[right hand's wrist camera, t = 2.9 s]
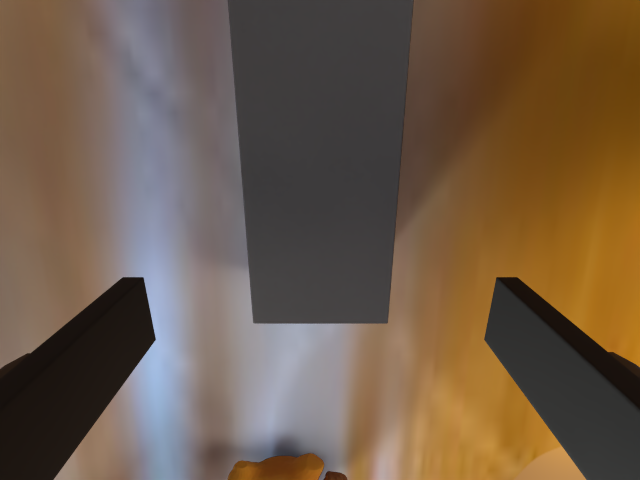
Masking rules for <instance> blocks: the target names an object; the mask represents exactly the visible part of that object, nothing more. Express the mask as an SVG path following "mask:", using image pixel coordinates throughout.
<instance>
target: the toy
mask: <svg viewBox="0 0 640 480" xmlns="http://www.w3.org/2000/svg"><path fill="white" fill-rule="evenodd" d="M323 468H324V463H323V460H321V459H320V458H319V457H318V456H316V455H314V454H312V453H308V454H304V455H301V456H299V457H298V458H297V457H293V456H275V457H271V458H268V459H265V460H263V461H262V462H259V463H257V462H249V461H238V462H237V463H236V464H235V465H234V467H233V470H232V471H231V472H230V474H229V476H228V480H318V479H319V476H320V474H321V472H322V471H323ZM324 480H347V477H346V476H345V475H344V474H342V473H338V472H331V471H328V472H327V473H326V476H325V478H324Z"/></svg>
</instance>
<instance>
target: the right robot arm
mask: <svg viewBox="0 0 640 480" xmlns="http://www.w3.org/2000/svg"><path fill="white" fill-rule="evenodd" d="M155 340H156V339H155V334H154V329H153V324H152V318H151V313H150V308H149V303H148V298H147V293H146V288H145V283H144V278H143V277H123V278H121V279H120V280H119V281H118V282H117V283H115V284H114V285H113V286H112V287H111V288H109V289H108V290H107V291H106V292H104V293H103V294H102V295H101V296H100V297H98V298H97V299H96V300H95V301H94V302H92V303H91V304H90V305H89V306H88V307H86V308H85V309H84V310H83V311H81V312H80V313H79V314H78V315H77V316H75V317H74V318H73V319H72V320H71V321H69V322H68V323H67V324H66V325H65V326H63V327H62V328H61V329H60V330H58V331H57V332H56V333H55V334H54V335H52V336H51V337H50V338H49V339H48V340H46V341H45V342H44V343H43V344H41V345H40V346H39V347H38V348H37V349H35V350H34V351H33V352H32V353H27V354H25V355H24V356H22V357H20V358H18V359H16V360H14V361H13V362H11V363H9V364H7V365H5V366H4V367H2V368H1V369H0V480H53V479H54V478H55V477H56V475H57V474H58V473H59V471H60V470H61V469H62V467H63V466H64V464H65V463H66V462H67V460H68V459H69V458H70V456H71V455H72V453H73V452H74V451H75V449H76V448H77V447H78V445H79V444H80V443H81V441H82V440H83V438H84V437H85V436H86V434H87V433H88V432H89V430H90V429H91V427H92V426H93V425H94V423H95V422H96V421H97V419H98V418H99V417H100V415H101V414H102V412H103V411H104V410H105V408H106V407H107V406H108V404H109V403H110V401H111V400H112V399H113V397H114V396H115V395H116V393H117V392H118V391H119V389H120V388H121V386H122V385H123V384H124V382H125V381H126V380H127V378H128V377H129V375H130V374H131V373H132V371H133V370H134V369H135V367H136V366H137V365H138V363H139V362H140V360H141V359H142V358H143V356H144V355H145V354H146V352H147V351H148V349H149V348H150V347H151V345H152V344H153V343H154V341H155ZM484 340H485V341H486V343H487V344H488V345H489V347H490V348H491V349H492V351H493V352H494V354H495V355H496V356H497V358H498V359H499V360H500V362H501V363H502V365H503V366H504V367H505V369H506V370H507V371H508V373H509V374H510V375H511V377H512V378H513V380H514V381H515V382H516V384H517V385H518V386H519V388H520V389H521V391H522V392H523V393H524V395H525V396H526V397H527V399H528V400H529V401H530V403H531V404H532V406H533V407H534V408H535V410H536V411H537V412H538V414H539V415H540V417H541V418H542V419H543V421H544V422H545V423H546V425H547V426H548V427H549V429H550V430H551V432H552V433H553V434H554V436H555V437H556V438H557V440H558V441H559V443H560V444H561V445H562V447H563V448H564V449H565V451H566V452H567V453H568V455H569V456H570V457H571V459H572V460H573V462H574V463H575V464H576V466H577V467H578V469H579V470H580V471H581V473H582V474H583V475H584V477H585V478H586V479H587V480H640V367H638V366H637V365H636V364H634V363H632V362H630V361H628V360H627V359H625V358H623V357H621V356H619V355H617V354H615V353H614V352H607V351H606V350H605V349H603V348H602V347H601V346H600V345H599V344H597V343H596V342H595V341H594V340H592V339H591V338H590V337H589V336H588V335H586V334H585V333H584V332H583V331H582V330H580V329H579V328H578V327H577V326H575V325H574V324H573V323H572V322H571V321H569V320H568V319H567V318H566V317H565V316H563V315H562V314H561V313H560V312H559V311H557V310H556V309H555V308H554V307H552V306H551V305H550V304H549V303H548V302H546V301H545V300H544V299H543V298H542V297H540V296H539V295H538V294H537V293H536V292H534V291H533V290H532V289H531V288H529V287H528V286H527V285H526V284H525V283H523V282H522V281H521V280H520V279H519V278H517V277H497V278H496V283H495V288H494V293H493V298H492V303H491V308H490V313H489V318H488V323H487V329H486V334H485V339H484Z"/></svg>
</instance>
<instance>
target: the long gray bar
mask: <svg viewBox="0 0 640 480" xmlns="http://www.w3.org/2000/svg"><path fill="white" fill-rule="evenodd" d="M228 7H229V20H230V33H231V46H232V58H233V71H234V84H235V96H236V109H237V122H238V135H239V147H240V160H241V173H242V185H243V198H244V211H245V224H246V236H247V249H248V262H249V274H250V287H251V300H252V313H253V323H388V314H389V301H390V289H391V276H392V264H393V251H394V239H395V226H396V214H397V201H398V188H399V176H400V163H401V151H402V138H403V126H404V113H405V101H406V88H407V76H408V63H409V51H410V38H411V26H412V13H413V0H228Z"/></svg>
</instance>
